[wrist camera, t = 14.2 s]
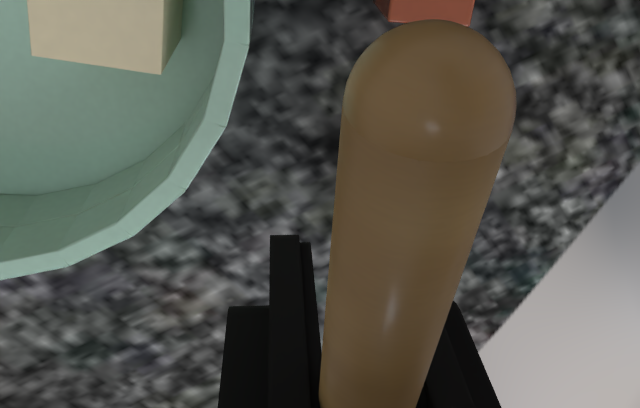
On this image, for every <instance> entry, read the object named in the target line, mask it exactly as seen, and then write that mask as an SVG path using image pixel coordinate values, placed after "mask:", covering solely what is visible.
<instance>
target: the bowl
mask: <svg viewBox="0 0 640 408" xmlns="http://www.w3.org/2000/svg"><path fill="white" fill-rule="evenodd" d="M254 9H255V0H183V9H182V28H181V40H180V41H179V43H178V45H177V47H176V49H175V50H174V52H173V54H172V56H171V58H170V59H169V61H168V63H167V65H166V67H165V68H164V70H163V72H162V74H161V75H158V74H151V73H144V72H138V71H131V70H124V69H117V68H111V67H104V66H97V65H90V64H84V63H77V62H70V61H63V60H57V59H50V58H43V57H36V56H32V55H31V46H30V34H29V21H28V9H27V0H0V280H4V279H9V278H15V277H20V276H25V275H30V274H35V273H40V272H45V271H50V270H55V269H60V268H65V267H68V266H70V265H73V264H75V263H77V262H79V261H81V260H83V259H85V258H88V257H90V256H92V255H94V254H96V253H98V252H100V251H103V250H105V249H107V248H109V247H111V246H113V245H115V244H117V243H120V242H122V241H124V240H126V239H128V238H130V237H132V236H134V235H136V234H137V233H138V232H139V231H140V230H141V229H143V228H144V227H145V226H146V225H147V224H148V223H149V222H151V221H152V220H153V219H154V218H155V217H156V216H158V215H159V214H160V213H161V212H162V211H163V210H165V209H166V208H167V207H168V206H169V205H170V204H171V203H173V202H174V201H175V200H176V199H177V198H178V197H180V196H181V195H182V194H183V193H184V192H185V191H186V189H188V187H189V185H190V184H191V182H192V181H193V179H194V178H195V176H196V174H197V173H198V171H199V170H200V168H201V167H202V165H203V163H204V162H205V160H206V159H207V157H208V155H209V154H210V152H211V151H212V149H213V148H214V146H215V144H216V143H217V141H218V140H219V138H220V137H221V135H222V133H223V132H224V130H225V128H226V126H227V124H228V120H229V117H230V113H231V110H232V106H233V103H234V99H235V96H236V92H237V89H238V85H239V82H240V78H241V75H242V71H243V68H244V64H245V61H246V57H247V54H248V50H249V46H250V38H251V31H252V24H253V17H254Z"/></svg>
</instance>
